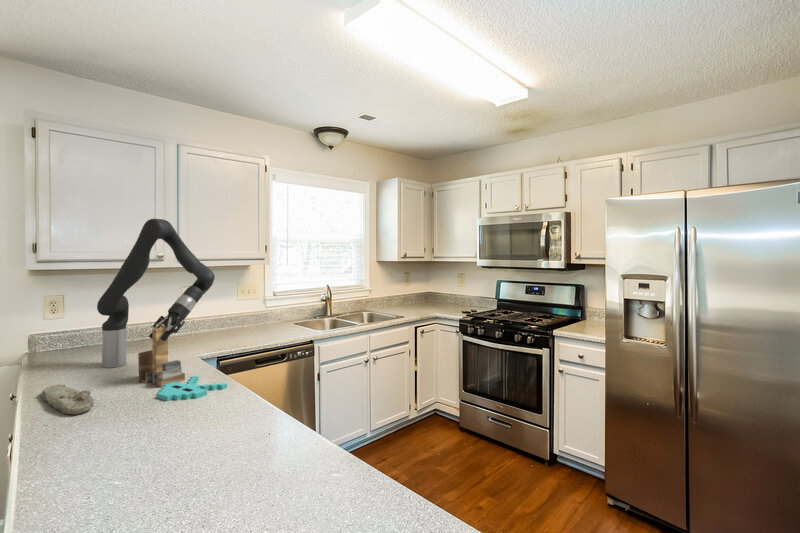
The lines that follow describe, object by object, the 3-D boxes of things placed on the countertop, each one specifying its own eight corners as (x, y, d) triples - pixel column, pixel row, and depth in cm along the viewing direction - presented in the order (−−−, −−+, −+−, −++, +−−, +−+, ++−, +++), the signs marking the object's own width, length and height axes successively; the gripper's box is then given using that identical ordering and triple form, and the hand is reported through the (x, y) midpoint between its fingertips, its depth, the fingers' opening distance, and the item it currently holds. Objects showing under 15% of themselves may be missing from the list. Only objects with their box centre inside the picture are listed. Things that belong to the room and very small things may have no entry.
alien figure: (194, 380, 167) (146, 395, 149) (194, 375, 167) (146, 390, 149) (227, 389, 158) (179, 406, 140) (227, 383, 158) (178, 399, 140)
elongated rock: (68, 392, 155) (34, 401, 147) (66, 379, 155) (33, 387, 147) (102, 408, 135) (65, 420, 127) (100, 393, 135) (64, 404, 127)
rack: (138, 381, 164) (138, 353, 163) (162, 374, 173) (161, 347, 172) (153, 385, 160) (152, 355, 159) (176, 378, 169) (176, 350, 168)
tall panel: (152, 381, 164) (152, 329, 163) (164, 378, 168) (164, 327, 167) (156, 382, 163) (156, 329, 162) (168, 379, 167) (167, 327, 166)
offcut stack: (155, 385, 159) (155, 365, 158) (179, 378, 168) (179, 359, 168) (161, 387, 157) (161, 366, 157) (185, 380, 166) (185, 360, 166)
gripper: (166, 300, 174) (139, 331, 164) (187, 303, 168) (161, 335, 158) (177, 311, 179) (152, 342, 169) (199, 313, 173) (174, 345, 163)
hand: (156, 338), depth 163 cm, fingers open, 7 cm apart
